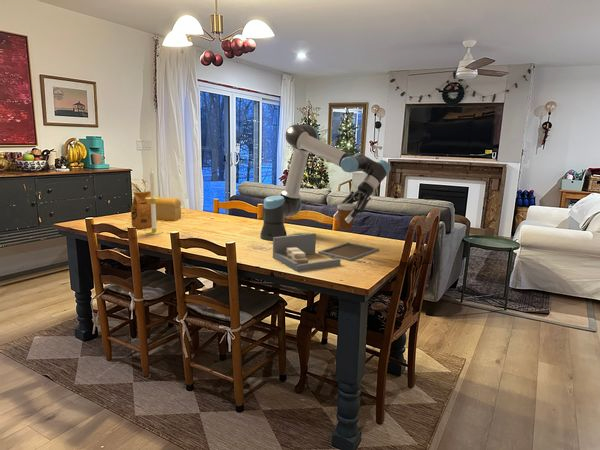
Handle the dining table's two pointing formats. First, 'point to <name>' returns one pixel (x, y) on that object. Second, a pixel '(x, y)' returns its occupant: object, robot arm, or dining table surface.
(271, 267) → the dining table surface
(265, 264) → the dining table surface
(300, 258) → the offcut stack
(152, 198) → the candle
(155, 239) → the dining table surface
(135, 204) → the coffee package
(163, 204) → the bread
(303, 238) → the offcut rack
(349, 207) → the disposable coffee cup
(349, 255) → the empty picture frame
